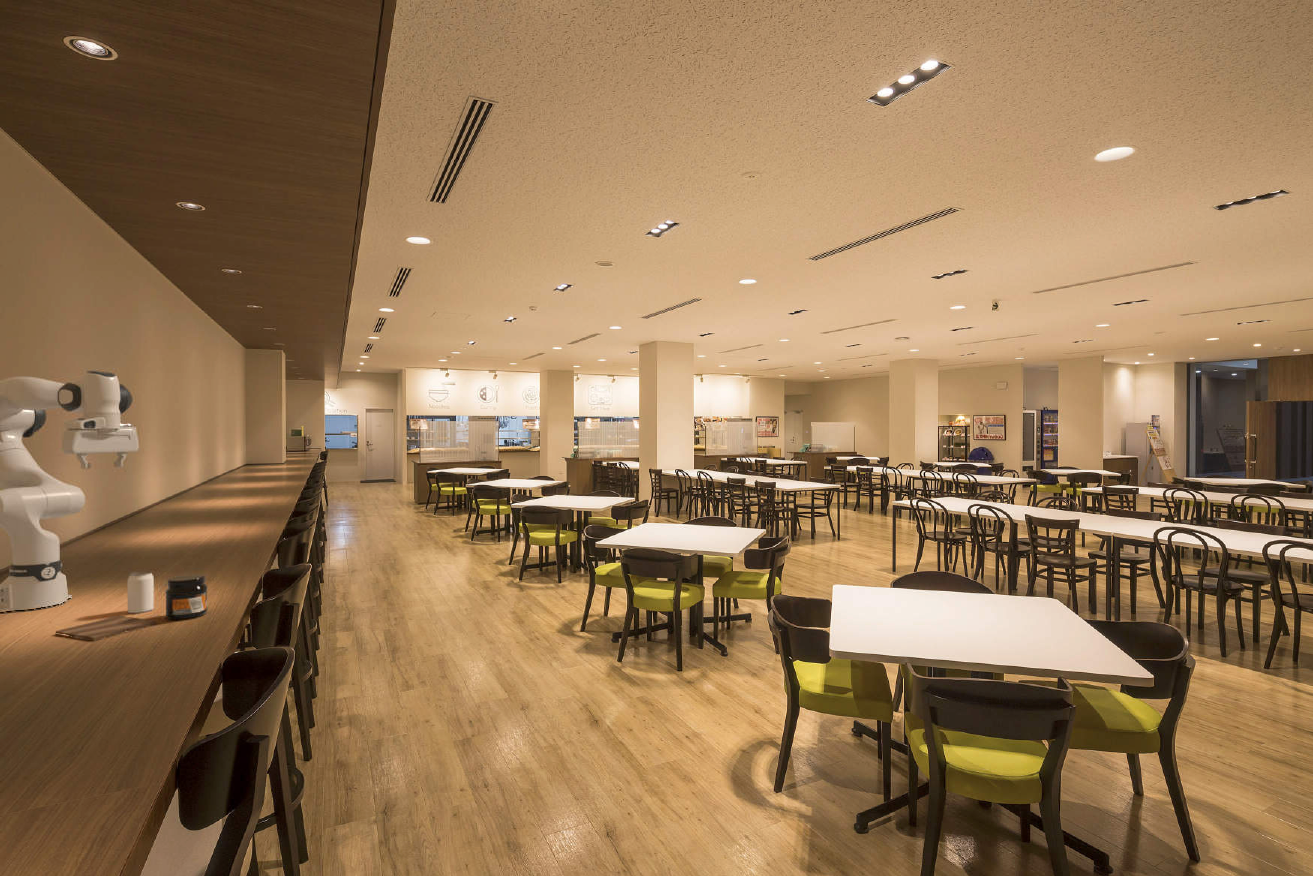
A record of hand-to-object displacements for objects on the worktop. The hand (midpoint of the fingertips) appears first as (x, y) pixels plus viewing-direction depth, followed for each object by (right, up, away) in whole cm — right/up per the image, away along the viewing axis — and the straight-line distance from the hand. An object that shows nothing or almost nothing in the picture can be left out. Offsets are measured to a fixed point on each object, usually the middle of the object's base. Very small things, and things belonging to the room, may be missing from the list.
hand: (102, 467), depth 198 cm
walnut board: (+14, -46, -14) cm, 50 cm away
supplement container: (+26, -46, 0) cm, 53 cm away
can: (+8, -46, +5) cm, 47 cm away
